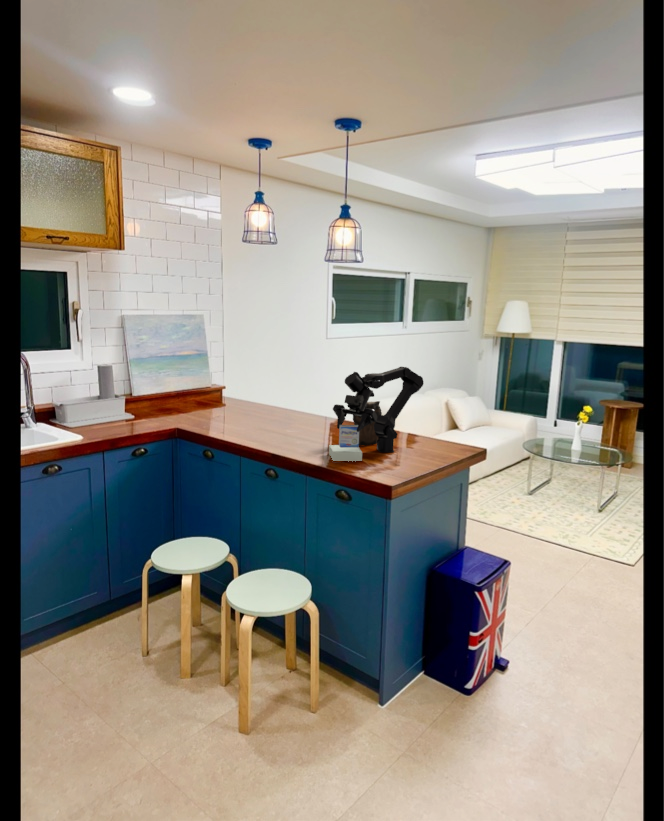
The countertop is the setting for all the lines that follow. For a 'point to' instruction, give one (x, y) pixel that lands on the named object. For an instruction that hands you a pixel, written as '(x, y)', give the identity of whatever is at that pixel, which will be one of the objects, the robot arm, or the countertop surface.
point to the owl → (368, 426)
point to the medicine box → (348, 436)
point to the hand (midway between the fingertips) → (347, 429)
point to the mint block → (345, 453)
